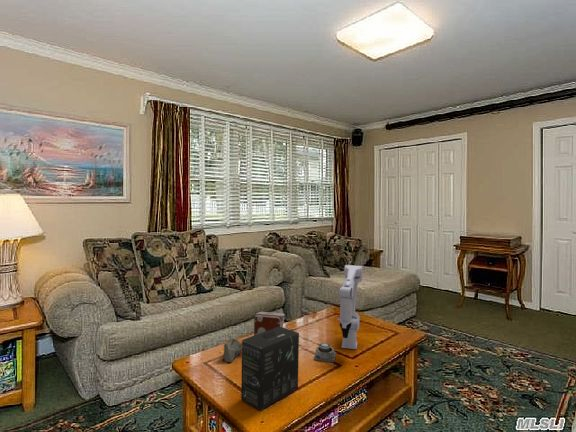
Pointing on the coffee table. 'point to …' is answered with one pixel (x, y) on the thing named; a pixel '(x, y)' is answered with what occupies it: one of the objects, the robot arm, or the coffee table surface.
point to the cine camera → (267, 321)
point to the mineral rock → (231, 350)
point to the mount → (325, 355)
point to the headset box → (269, 366)
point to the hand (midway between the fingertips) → (345, 337)
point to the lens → (324, 347)
